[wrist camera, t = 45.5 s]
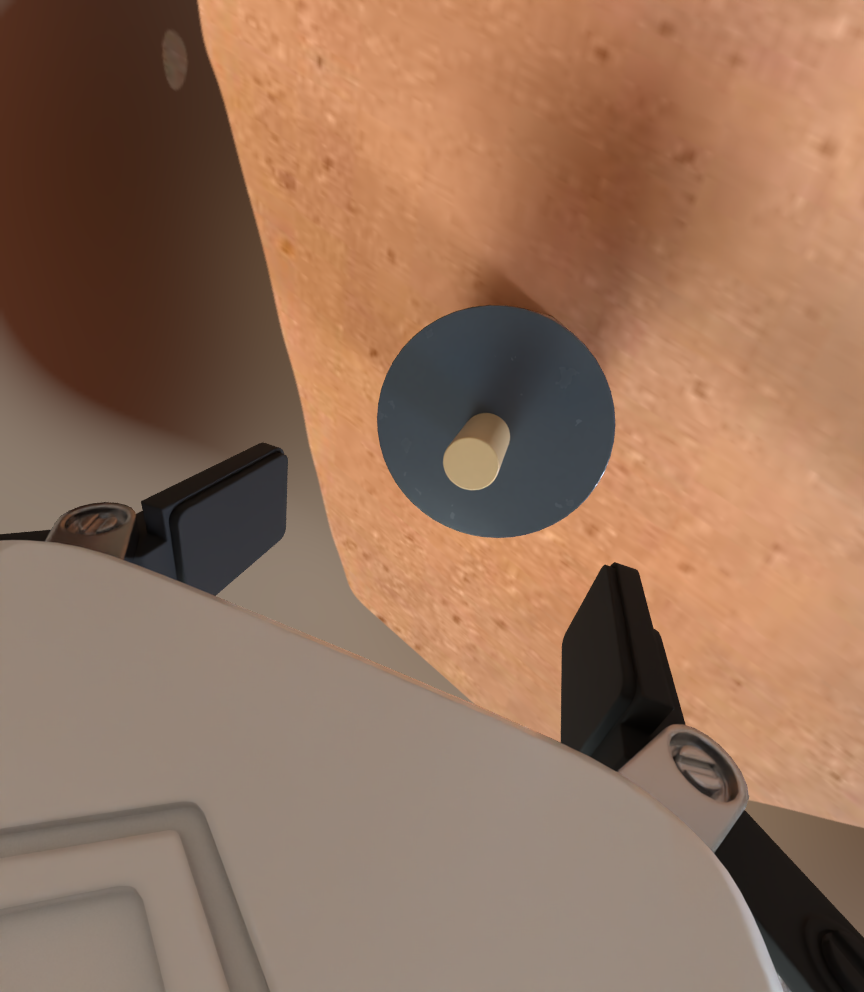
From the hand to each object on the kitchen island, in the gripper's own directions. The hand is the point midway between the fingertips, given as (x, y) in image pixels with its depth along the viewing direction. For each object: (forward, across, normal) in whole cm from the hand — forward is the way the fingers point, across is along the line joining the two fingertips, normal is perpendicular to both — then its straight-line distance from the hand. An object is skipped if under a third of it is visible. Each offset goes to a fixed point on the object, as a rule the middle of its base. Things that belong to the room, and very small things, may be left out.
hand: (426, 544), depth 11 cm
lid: (+13, 0, +1) cm, 13 cm away
